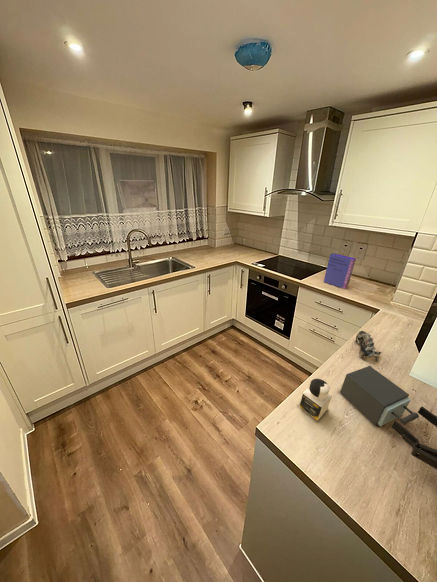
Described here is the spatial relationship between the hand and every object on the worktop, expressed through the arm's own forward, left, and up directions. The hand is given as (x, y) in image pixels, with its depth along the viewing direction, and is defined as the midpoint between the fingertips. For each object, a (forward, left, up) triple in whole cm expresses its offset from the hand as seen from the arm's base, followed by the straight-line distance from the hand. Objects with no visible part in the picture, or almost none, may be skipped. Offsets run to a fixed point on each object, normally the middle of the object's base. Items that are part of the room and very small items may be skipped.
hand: (406, 416), depth 75 cm
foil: (+14, -39, -7) cm, 42 cm away
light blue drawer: (+6, -4, -6) cm, 9 cm away
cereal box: (+43, -119, -7) cm, 127 cm away
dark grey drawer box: (+9, -6, -7) cm, 13 cm away
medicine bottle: (+26, +9, -7) cm, 28 cm away
